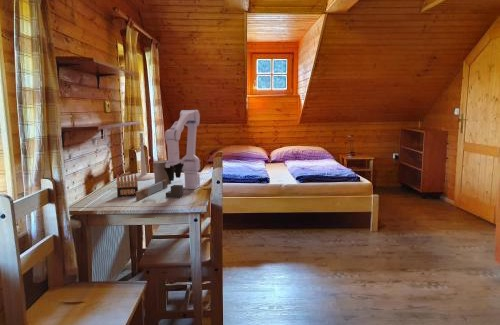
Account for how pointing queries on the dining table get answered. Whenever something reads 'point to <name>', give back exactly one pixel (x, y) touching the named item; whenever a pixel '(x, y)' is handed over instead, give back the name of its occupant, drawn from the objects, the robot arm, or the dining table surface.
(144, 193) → the brown wooden bar
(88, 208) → the dining table surface
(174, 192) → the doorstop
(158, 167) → the pillar candle
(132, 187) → the ammunition clip
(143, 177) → the candlestick
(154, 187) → the door
